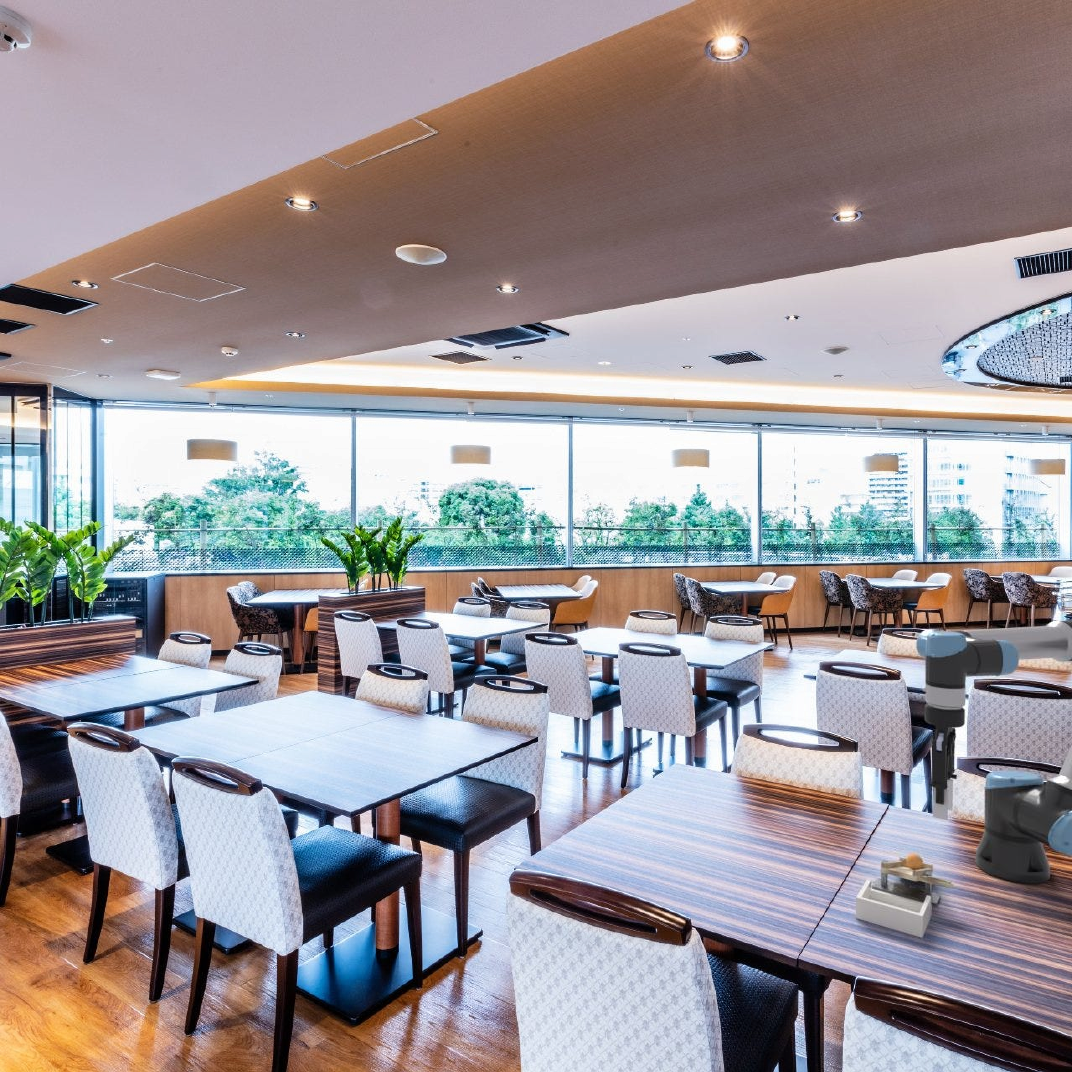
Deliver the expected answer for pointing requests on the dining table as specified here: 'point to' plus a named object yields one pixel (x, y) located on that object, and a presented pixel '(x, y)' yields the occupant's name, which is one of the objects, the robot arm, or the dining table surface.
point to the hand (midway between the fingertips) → (942, 813)
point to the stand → (906, 889)
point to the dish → (893, 910)
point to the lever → (913, 872)
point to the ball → (914, 861)
